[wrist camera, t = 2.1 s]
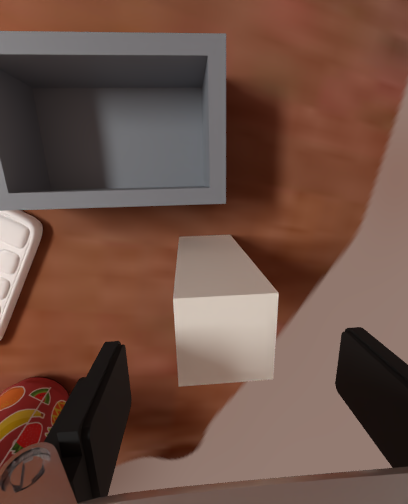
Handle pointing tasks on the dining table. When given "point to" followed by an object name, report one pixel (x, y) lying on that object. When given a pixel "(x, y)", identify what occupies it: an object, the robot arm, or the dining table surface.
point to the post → (222, 314)
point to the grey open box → (111, 119)
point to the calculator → (15, 258)
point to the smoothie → (28, 413)
